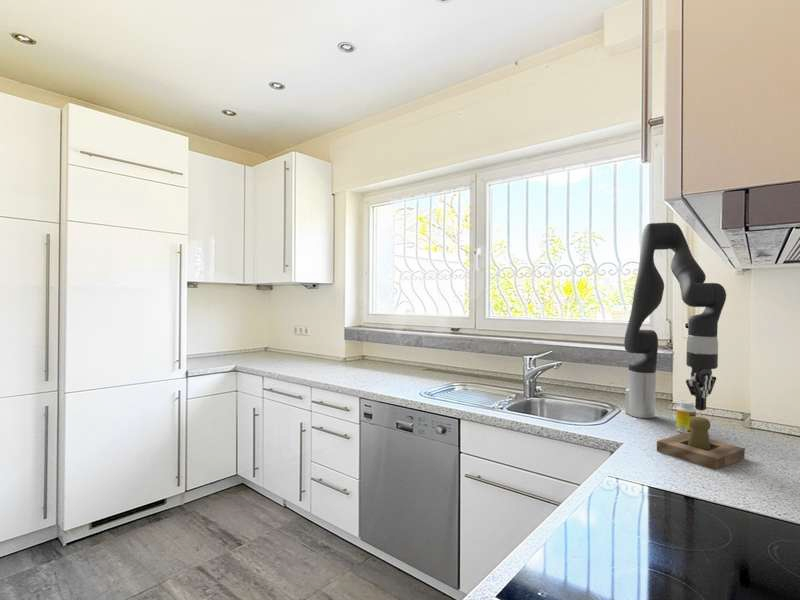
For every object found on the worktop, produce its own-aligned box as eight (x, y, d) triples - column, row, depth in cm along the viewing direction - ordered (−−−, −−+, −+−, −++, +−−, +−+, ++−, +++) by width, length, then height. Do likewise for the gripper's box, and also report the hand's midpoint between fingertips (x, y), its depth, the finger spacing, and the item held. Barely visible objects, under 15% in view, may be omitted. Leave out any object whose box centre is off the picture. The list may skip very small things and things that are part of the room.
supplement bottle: (690, 435, 144) (691, 405, 143) (672, 430, 148) (673, 401, 148) (698, 432, 146) (699, 402, 146) (681, 428, 151) (681, 399, 151)
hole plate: (656, 450, 129) (656, 440, 129) (684, 441, 138) (684, 432, 138) (717, 470, 116) (717, 459, 116) (744, 458, 124) (744, 448, 124)
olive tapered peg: (687, 449, 131) (688, 413, 131) (712, 454, 127) (713, 417, 127) (685, 455, 126) (686, 417, 126) (710, 460, 122) (711, 422, 122)
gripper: (699, 347, 132) (697, 403, 133) (676, 351, 126) (675, 409, 126) (727, 351, 126) (726, 409, 127) (705, 354, 119) (703, 416, 120)
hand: (700, 409), depth 126 cm, fingers closed
